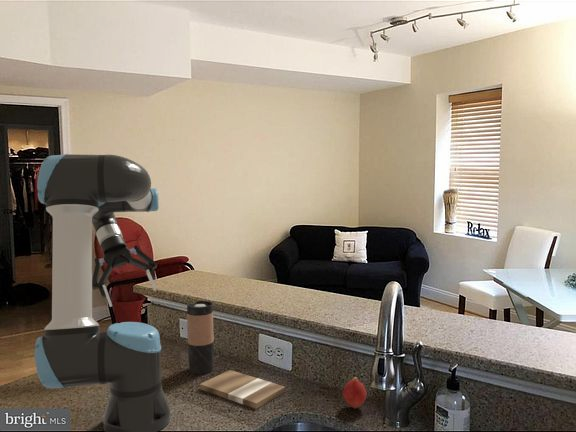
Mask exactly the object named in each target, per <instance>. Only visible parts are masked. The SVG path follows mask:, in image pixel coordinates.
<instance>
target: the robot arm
mask: <svg viewBox="0 0 576 432" xmlns="http://www.w3.org/2000/svg"><path fill="white" fill-rule="evenodd" d="M151 181H152V180H151V176H150V174H149V173H148V171H147V170H146V169H145V167H143V166H142V165H140V164H139V163H137V162H135V161H134V160H131V159H129V158H127V157H124V156H121V155H115V154H70V153H69V154H68V153H64V154H58V155H57V154H56V155H53V154H52V155H49V156H47V157H46V158H45V159H44V160H43V161H42V163H41V165H40V168H39V170H38V177H37V183H36V186H37V187H36V188H37V198H38V201H39V202H40V203H41V204H43V205H45V211H46V212H47V213H49V215H50V216H51V217H52V271H51V273H52V277H51V278H52V280H51V281H52V283H51V284H52V285H51V286H52V287H51V288H52V289H51V292H52V293H51V294H52V295H51V298H52V299H51V320H50V322H49V323H48V324H47V325H46V326H45V327H44V335H41V336H40V337H38V338H37V339H36V340H35V346H34V347H35V349H34V362H35V369H36V372H37V373H36V375H37V376H38V379H39V381H40V384H42V386H43V387H44V388H47V389H68V388H73V387H76V388H77V387H86V386H87V387H88V386H97V385H105V384H106V385H108V384H109V389H110V390H109V396H108V397H109V398H108V401H107V404H106V408H105V412H104V414H103V419H102V421H103V431H104V432H159V431H161V430H162V429H164V428H165V427H166V426H167V425H169V423H170V420H171V409H170V408H171V407H170V406H169V403H168V400H167V397H166V395H165V392H164V389H163V385H162V361H161V360H162V359H161V351H162V345H161V337H160V331H158V329H157V328H156V327H154V326H153V325H150V324H147V323H145V322H138V321H124V322H123V321H122V322H120V323H118V322H115V323H113V324H110V325H109V326H108V327H107V330H106V331H103V332H102V331H100V324H99V322H98V321H96V320H95V319H94V317H93V290H95V291H96V290H99V292H100V295H101V297H102V298H103V299H105V298H106V301H107V303H108V305H109V307H110V308H111V307H113V304H112V300H111V297H110V295H109V291H108V289H107V287H106V283H107V280H108V279H109V277H110V275H111V273H112V271H113V270H114V268H116V269H118V268H120V267H122V266H123V267H124V266H126V265H127V264H129V265H132V266H135V267H137V268H139V269H141V270H143V271H146V275H147V276H146V277H147V278H148V281H149V283H150V285H151V288H152V290H153V292H156V291H157V286H156V284H155V280H156V275H155V272H154V270H156V269H157V267H158V266H157V262H156V261H155V260H154V259H152V258H151V257H150V256H149V255H147V254H146V253H145V252H143V251H142V250H141V249H140V247H139V246H138V245H136V244H135V245H134V246H133V247H132V248H128V246H127V243H126V241H125V238H124V237H123V233H122V230H121V229H120V226H119V225H118V221H117V218H116V216H115V213H128V212H129V213H130V212H131V213H138V212H141V213H142V212H143V213H144V212H146V213H150V212H156V211H158V210H159V208H160V207H159V206H160V205H159V200H160V199H159V190H158V189H157V188H154V187H153V188H152V182H151ZM93 230H94V232H95V235H96V238H97V242H98V243H99V246H100V249H101V252H102V253H103V258H98V257H96V258H94V262H95V267H94V270H93ZM132 254H134V255H135V256H136V255H137V257H138V258H139V259H137V258H134V257H133V255H132ZM140 259H141V260H140ZM104 263H105V264H106V268H105V269H104V270H103V271H104V272H103V273H102V275H101V277H100V273H101V269H102V266H103V265H104Z"/></svg>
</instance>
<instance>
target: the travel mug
mask: <svg viewBox="0 0 576 432" xmlns="http://www.w3.org/2000/svg"><path fill="white" fill-rule="evenodd" d="M186 306H187V307H186V316H187V317H186V320H187V322H186V323H187V351H188V353H187V354H188V369H189V370H188V371H189V372H190V373H191V374H195V375H204V374H205V375H206V374H208V373H211V372H213V371H214V364H215V362H214V360H215V359H214V358H215V357H214V354H215V352H214V350H215V349H214V348H215V345H214V343H215V341H214V340H215V335H214V311H213V310H214V308H213V302H212V301H207V300H199V301H195V303H190V302H189V303H187V305H186Z"/></svg>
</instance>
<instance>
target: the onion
mask: <svg viewBox="0 0 576 432" xmlns="http://www.w3.org/2000/svg"><path fill="white" fill-rule="evenodd" d="M342 389H343V390H342V397H343V399H344V401H345V403H346V404H348V405H349V406H350V407H351V408H353V409H357V408H359V407H360V406H361V405H363V404H364V402H365V401H366V399H367V390H366V388H365V385H364V384H363V383H362V382H361V381H360V380H358V378H357V377H356V376H355V377H353V378H352V379H350V380H349V381H347V382H346V383H345V385H344V387H343V388H342Z"/></svg>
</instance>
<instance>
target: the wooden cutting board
mask: <svg viewBox="0 0 576 432" xmlns="http://www.w3.org/2000/svg"><path fill="white" fill-rule="evenodd" d="M199 390H201V391H204V392H206V393H210V394H212V395H215V396H219V397H221V398H223V399H227V400H229V401H232V402H234V403H235V402H236V403H237V404H241V405H244V406H246V407H249V408H252V409H255V410H257V409H259V408H261V407H263V406H264V405H266V404H268V403H270V402H271V401H273V400H274V399H276V398H278V397H280V396H281V395H283V394H285V393H286V386H284V385H281V384H277V383H275V382H272V381H268V380H266V379H265V380H264V379H262V378H259V377H254V376H252V375H247V374H245V373H241V372H238V371H234V370H231V369H229V370H227V371H224V372H222V373H221V374H218V375H216V376H214V377H211V378H209V379H208V380H205V381H203V382H201V383H200V384H199Z"/></svg>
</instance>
